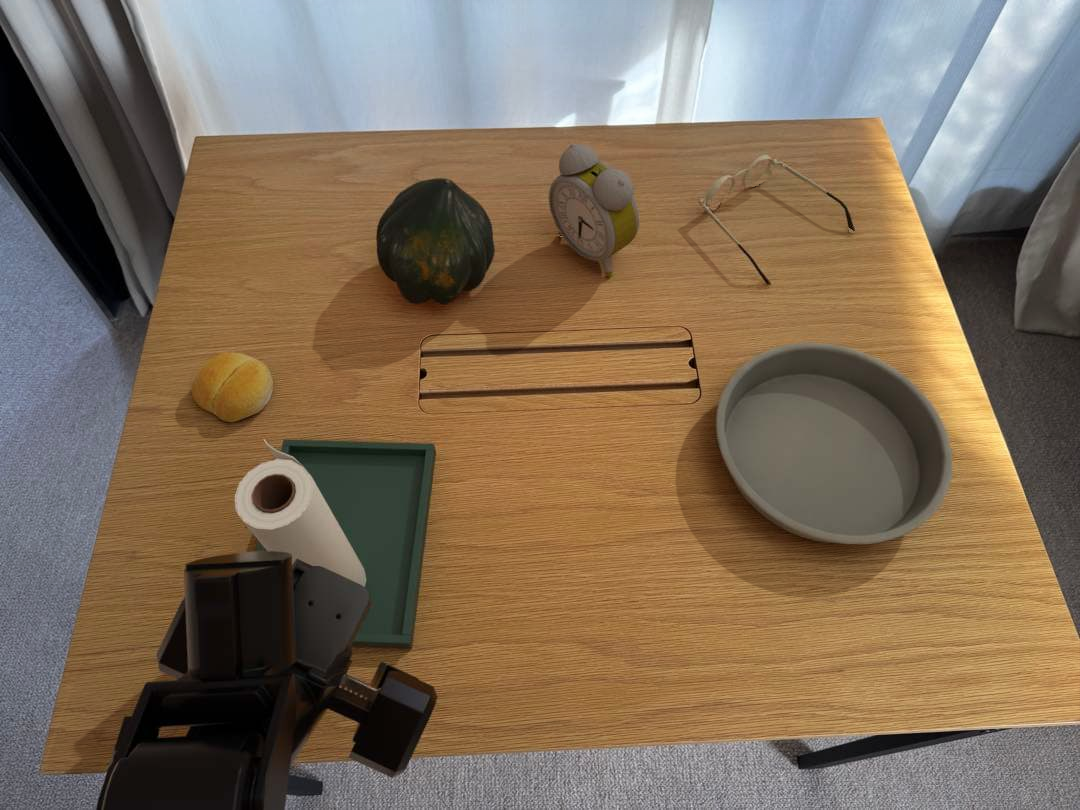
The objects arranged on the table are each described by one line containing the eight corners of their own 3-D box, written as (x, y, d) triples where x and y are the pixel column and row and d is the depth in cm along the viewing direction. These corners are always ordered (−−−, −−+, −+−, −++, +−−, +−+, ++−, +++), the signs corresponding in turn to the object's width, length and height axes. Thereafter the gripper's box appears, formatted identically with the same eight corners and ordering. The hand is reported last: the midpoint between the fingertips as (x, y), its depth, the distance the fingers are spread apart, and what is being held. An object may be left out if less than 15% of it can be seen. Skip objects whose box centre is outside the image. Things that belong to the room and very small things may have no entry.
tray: (412, 648, 74) (408, 643, 72) (241, 642, 74) (234, 637, 73) (436, 452, 86) (434, 443, 84) (288, 448, 86) (283, 439, 84)
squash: (344, 286, 91) (414, 217, 82) (368, 202, 100) (434, 130, 90) (441, 341, 99) (516, 284, 89) (455, 258, 107) (525, 197, 98)
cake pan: (965, 557, 79) (986, 540, 75) (725, 561, 79) (735, 545, 75) (901, 362, 92) (916, 339, 88) (696, 365, 92) (702, 342, 88)
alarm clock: (546, 237, 103) (546, 146, 90) (583, 213, 105) (588, 121, 93) (606, 287, 98) (615, 198, 85) (643, 261, 101) (658, 171, 88)
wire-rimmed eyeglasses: (776, 170, 110) (786, 141, 106) (857, 232, 103) (871, 204, 99) (687, 220, 105) (693, 191, 100) (766, 289, 98) (776, 262, 94)
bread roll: (244, 434, 87) (232, 416, 83) (185, 401, 89) (171, 382, 86) (291, 382, 91) (282, 362, 87) (234, 351, 93) (222, 331, 90)
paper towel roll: (352, 621, 75) (291, 538, 57) (296, 605, 76) (218, 517, 58) (381, 554, 79) (332, 455, 61) (326, 539, 80) (262, 437, 61)
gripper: (461, 663, 47) (476, 601, 62) (181, 533, 46) (267, 503, 62) (382, 831, 46) (417, 727, 62) (100, 701, 46) (206, 629, 62)
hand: (329, 643), depth 62 cm, fingers open, 9 cm apart
